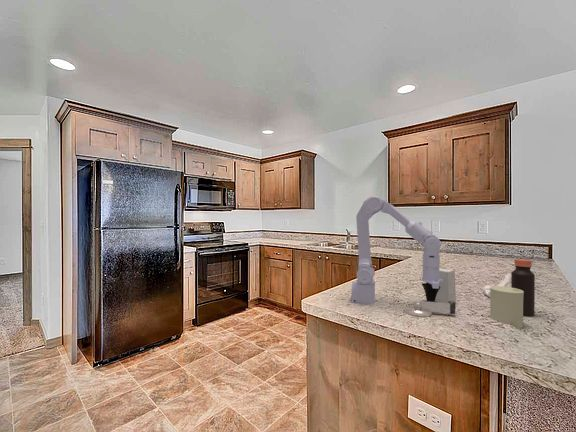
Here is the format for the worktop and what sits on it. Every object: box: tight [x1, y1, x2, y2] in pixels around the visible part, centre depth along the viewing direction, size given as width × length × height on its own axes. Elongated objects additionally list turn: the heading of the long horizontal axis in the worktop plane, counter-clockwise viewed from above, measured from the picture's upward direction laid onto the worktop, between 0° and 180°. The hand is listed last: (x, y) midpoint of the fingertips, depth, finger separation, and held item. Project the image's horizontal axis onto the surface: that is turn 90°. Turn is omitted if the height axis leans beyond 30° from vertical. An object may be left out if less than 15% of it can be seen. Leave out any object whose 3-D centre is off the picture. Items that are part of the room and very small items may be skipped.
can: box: [489, 285, 525, 329], centre depth 97 cm, size 9×9×12 cm
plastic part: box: [482, 271, 511, 298], centre depth 129 cm, size 8×10×12 cm
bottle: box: [510, 258, 536, 317], centre depth 107 cm, size 7×7×20 cm
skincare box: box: [435, 267, 457, 305], centre depth 115 cm, size 8×6×15 cm
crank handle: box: [403, 299, 456, 318], centre depth 102 cm, size 17×9×5 cm, turn 76°
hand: (430, 303), depth 107 cm, fingers closed
